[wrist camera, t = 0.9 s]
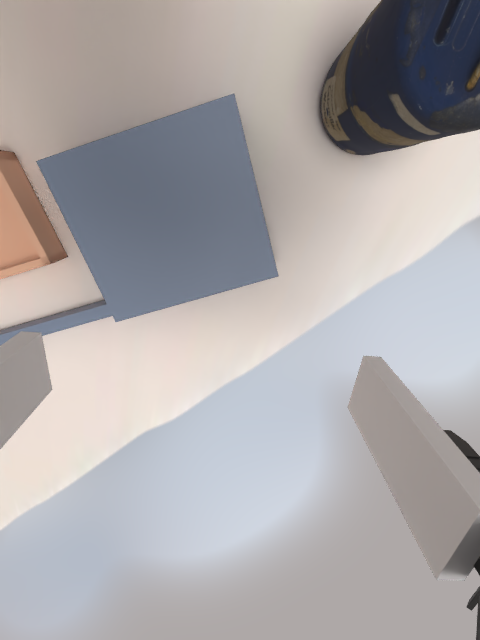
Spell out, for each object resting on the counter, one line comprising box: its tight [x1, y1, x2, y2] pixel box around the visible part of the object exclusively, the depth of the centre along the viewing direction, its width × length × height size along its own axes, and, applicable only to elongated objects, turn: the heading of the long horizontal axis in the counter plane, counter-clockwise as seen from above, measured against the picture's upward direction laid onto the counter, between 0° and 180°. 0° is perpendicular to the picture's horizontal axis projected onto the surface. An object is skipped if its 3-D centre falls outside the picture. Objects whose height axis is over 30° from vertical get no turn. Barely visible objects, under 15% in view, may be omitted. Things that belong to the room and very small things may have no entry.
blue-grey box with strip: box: [0, 94, 278, 346], centre depth 32 cm, size 16×40×5 cm, turn 106°
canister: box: [321, 0, 480, 155], centre depth 22 cm, size 10×10×18 cm
